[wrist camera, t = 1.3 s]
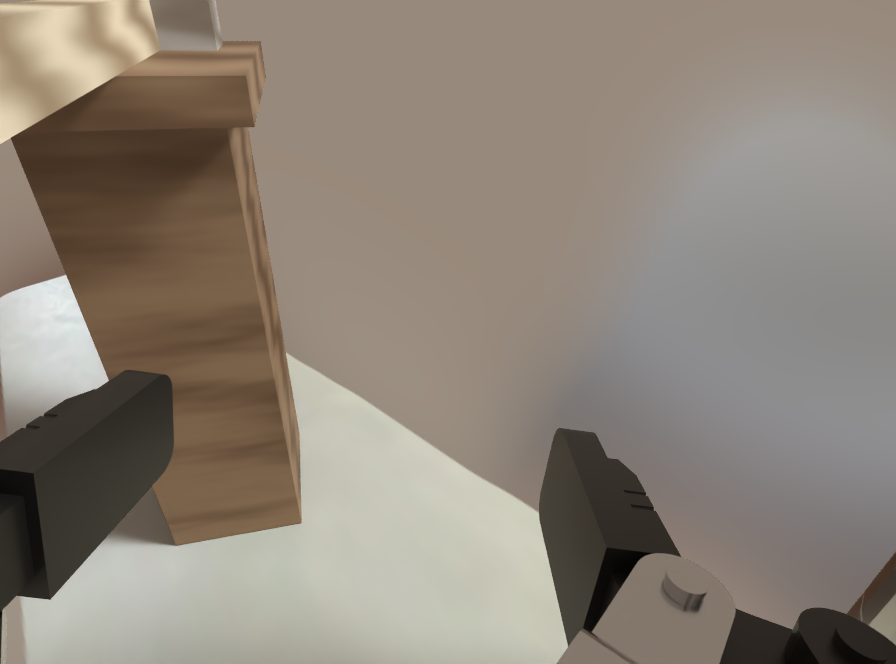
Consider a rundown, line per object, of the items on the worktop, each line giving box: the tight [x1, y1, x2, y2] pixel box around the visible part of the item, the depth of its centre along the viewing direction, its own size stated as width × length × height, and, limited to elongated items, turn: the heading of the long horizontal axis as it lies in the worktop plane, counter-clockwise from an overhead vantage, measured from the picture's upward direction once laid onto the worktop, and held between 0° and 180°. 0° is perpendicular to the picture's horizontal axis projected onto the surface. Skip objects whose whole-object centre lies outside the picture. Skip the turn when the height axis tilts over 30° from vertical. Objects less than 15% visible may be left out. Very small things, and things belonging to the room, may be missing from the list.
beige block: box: [0, 0, 223, 144], centre depth 20 cm, size 24×8×2 cm, turn 14°
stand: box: [11, 41, 301, 545], centre depth 35 cm, size 14×12×32 cm
